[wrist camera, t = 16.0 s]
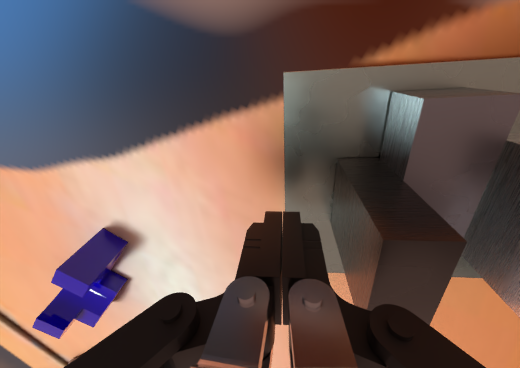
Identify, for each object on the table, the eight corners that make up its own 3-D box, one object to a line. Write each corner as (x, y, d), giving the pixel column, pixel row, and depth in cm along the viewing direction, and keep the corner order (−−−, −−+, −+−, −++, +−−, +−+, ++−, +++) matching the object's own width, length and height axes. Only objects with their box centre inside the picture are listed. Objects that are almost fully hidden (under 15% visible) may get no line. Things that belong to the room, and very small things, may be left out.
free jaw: (469, 87, 9) (713, 114, 4) (411, 264, 14) (489, 387, 9) (343, 94, 10) (410, 124, 5) (326, 262, 14) (351, 376, 9)
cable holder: (113, 299, 21) (78, 347, 17) (76, 281, 20) (32, 327, 17) (147, 250, 17) (112, 297, 14) (104, 226, 17) (56, 269, 13)
